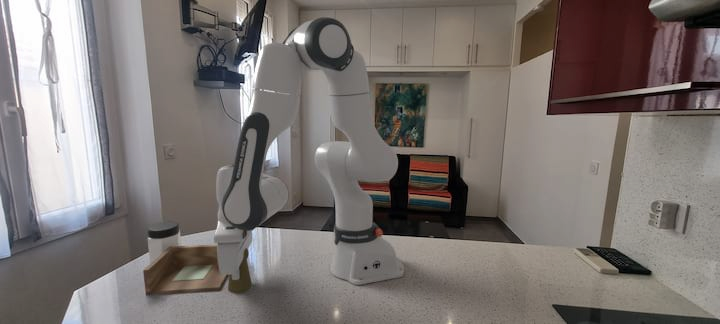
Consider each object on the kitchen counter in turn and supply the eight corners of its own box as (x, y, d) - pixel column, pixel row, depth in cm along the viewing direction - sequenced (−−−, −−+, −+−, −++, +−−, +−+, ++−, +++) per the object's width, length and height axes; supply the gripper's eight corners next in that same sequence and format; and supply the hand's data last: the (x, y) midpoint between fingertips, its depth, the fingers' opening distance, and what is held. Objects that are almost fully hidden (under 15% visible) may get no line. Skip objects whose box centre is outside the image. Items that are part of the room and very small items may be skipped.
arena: (233, 264, 94) (232, 243, 93) (219, 289, 80) (217, 266, 79) (171, 267, 91) (169, 246, 90) (145, 294, 77) (143, 270, 76)
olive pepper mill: (243, 294, 78) (241, 254, 77) (223, 291, 79) (220, 252, 78) (256, 281, 84) (254, 244, 82) (236, 279, 85) (234, 242, 84)
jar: (154, 257, 97) (151, 222, 95) (183, 253, 100) (180, 219, 98) (147, 271, 89) (143, 232, 87) (179, 266, 92) (176, 229, 90)
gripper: (234, 211, 89) (236, 255, 91) (211, 239, 69) (214, 295, 71) (256, 210, 90) (258, 254, 92) (239, 238, 70) (242, 293, 72)
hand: (239, 272), depth 81 cm, fingers closed on olive pepper mill, 5 cm apart
